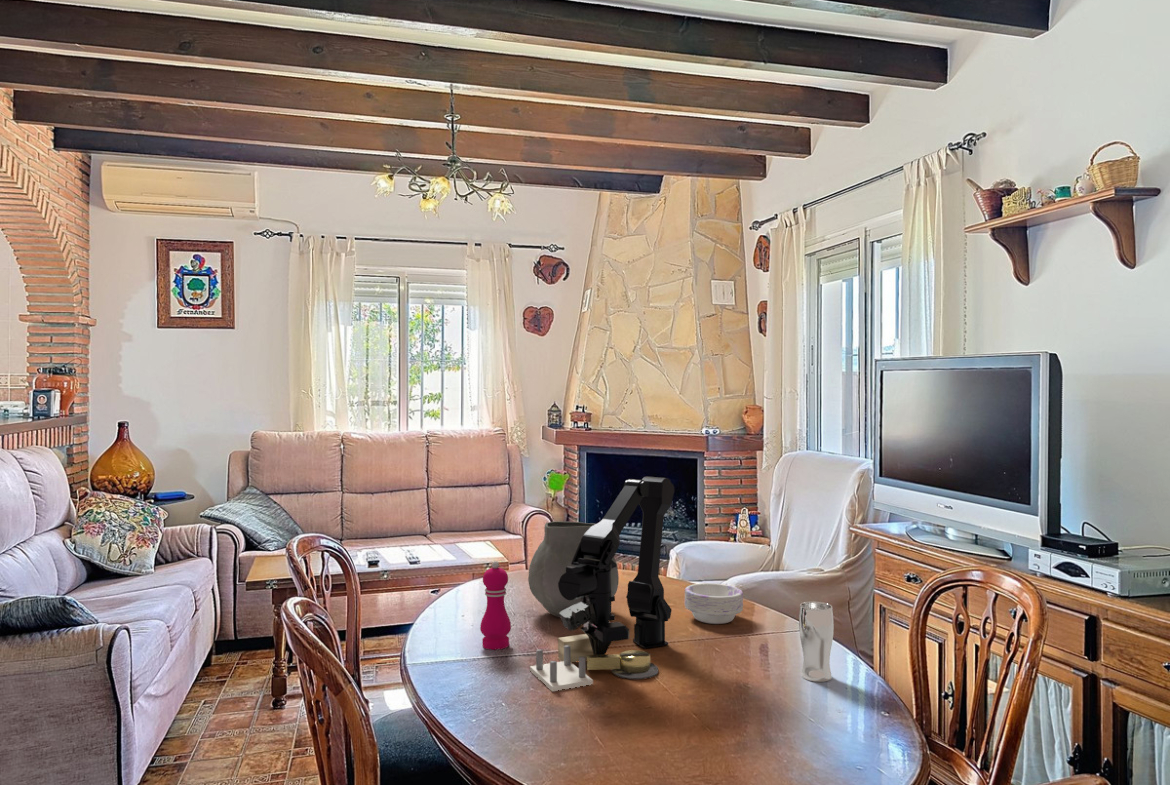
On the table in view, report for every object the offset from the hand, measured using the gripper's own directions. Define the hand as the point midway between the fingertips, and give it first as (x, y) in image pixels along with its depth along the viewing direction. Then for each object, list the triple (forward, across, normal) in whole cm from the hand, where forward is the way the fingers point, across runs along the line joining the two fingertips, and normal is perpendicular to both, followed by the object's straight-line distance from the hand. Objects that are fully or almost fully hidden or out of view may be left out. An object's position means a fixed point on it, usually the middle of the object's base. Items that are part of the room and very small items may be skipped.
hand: (598, 662), depth 173 cm
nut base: (+1, +5, +6) cm, 8 cm away
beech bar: (+1, -7, -1) cm, 7 cm away
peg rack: (+1, +2, -10) cm, 10 cm away
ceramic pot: (+1, -40, +11) cm, 41 cm away
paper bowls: (+1, -21, +43) cm, 48 cm away
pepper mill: (+1, -23, -16) cm, 28 cm away
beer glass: (+1, +24, +39) cm, 46 cm away
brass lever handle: (0, +4, +3) cm, 5 cm away
